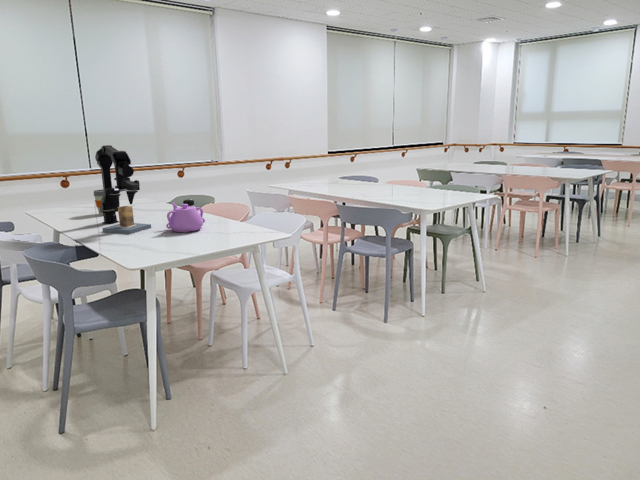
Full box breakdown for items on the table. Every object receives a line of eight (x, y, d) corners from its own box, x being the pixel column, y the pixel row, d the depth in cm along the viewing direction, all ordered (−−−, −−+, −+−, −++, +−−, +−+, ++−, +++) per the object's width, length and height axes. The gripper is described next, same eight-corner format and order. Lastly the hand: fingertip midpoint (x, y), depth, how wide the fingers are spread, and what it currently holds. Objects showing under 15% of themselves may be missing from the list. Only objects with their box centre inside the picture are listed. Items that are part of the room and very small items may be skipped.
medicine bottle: (193, 221, 281) (191, 200, 279) (181, 221, 283) (179, 200, 280) (198, 219, 288) (196, 198, 286) (187, 218, 290) (185, 198, 287)
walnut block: (119, 226, 259) (118, 216, 258) (126, 224, 264) (125, 215, 263) (127, 226, 258) (126, 217, 257) (134, 225, 262) (133, 215, 261)
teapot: (192, 223, 275) (190, 199, 272) (213, 229, 260) (211, 203, 257) (155, 230, 260) (152, 204, 257) (175, 236, 245) (173, 208, 242)
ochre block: (118, 216, 258) (117, 207, 257) (125, 215, 263) (124, 206, 262) (126, 217, 257) (125, 207, 255) (133, 215, 261) (132, 206, 260)
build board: (102, 231, 257) (102, 227, 257) (124, 225, 272) (124, 221, 271) (130, 234, 251) (129, 229, 250) (151, 227, 265) (150, 223, 265)
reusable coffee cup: (110, 211, 319) (107, 188, 315) (121, 213, 312) (119, 189, 308) (92, 214, 309) (89, 190, 305) (103, 216, 302) (100, 192, 298)
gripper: (120, 178, 243) (124, 209, 247) (146, 174, 260) (149, 203, 264) (103, 177, 247) (106, 208, 251) (129, 174, 264) (132, 202, 268)
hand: (124, 205), depth 258 cm, fingers open, 9 cm apart
